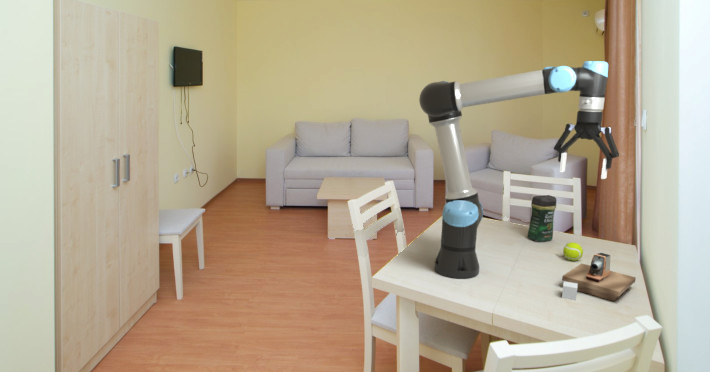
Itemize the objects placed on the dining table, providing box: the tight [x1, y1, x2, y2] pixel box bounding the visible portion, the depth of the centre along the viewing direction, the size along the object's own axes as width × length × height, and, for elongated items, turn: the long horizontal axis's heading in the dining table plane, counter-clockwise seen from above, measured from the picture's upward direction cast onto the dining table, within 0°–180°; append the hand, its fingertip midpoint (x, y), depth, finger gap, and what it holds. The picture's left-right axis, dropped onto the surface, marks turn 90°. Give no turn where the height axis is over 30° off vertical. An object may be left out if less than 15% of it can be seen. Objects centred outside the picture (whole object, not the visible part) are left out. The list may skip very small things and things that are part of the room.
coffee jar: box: [527, 194, 557, 243], centre depth 213 cm, size 10×8×19 cm
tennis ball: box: [562, 242, 584, 262], centre depth 191 cm, size 7×7×7 cm
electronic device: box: [586, 252, 611, 282], centre depth 165 cm, size 4×10×8 cm, turn 137°
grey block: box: [561, 281, 578, 301], centre depth 160 cm, size 4×4×4 cm
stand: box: [561, 263, 637, 302], centre depth 167 cm, size 17×16×4 cm
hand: (582, 175), depth 172 cm, fingers open, 13 cm apart
